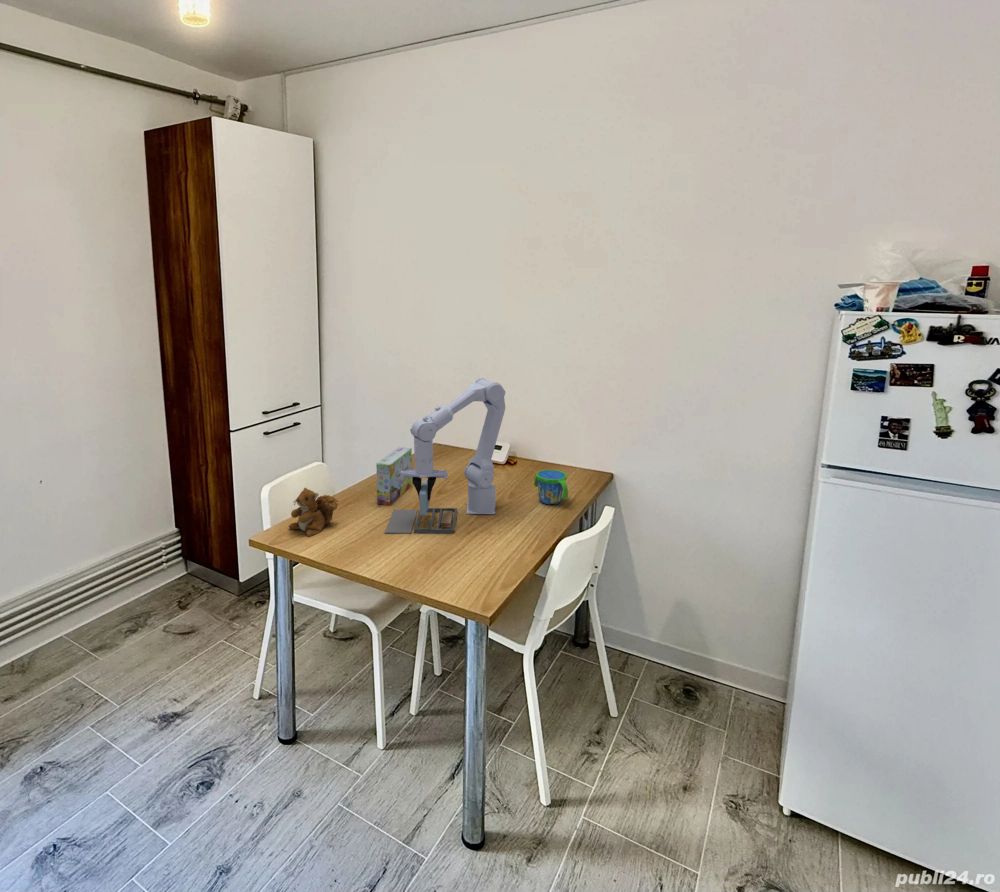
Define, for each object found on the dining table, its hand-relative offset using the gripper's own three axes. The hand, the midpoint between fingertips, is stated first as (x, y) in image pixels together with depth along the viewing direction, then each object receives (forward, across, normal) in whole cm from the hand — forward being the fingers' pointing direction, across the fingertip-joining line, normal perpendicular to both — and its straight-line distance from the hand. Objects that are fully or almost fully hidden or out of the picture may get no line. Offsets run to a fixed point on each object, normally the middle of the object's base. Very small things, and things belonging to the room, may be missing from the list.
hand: (424, 499), depth 188 cm
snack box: (+8, -13, +24) cm, 29 cm away
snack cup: (+8, +42, +18) cm, 46 cm away
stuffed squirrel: (+8, -34, -4) cm, 35 cm away
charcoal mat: (+8, -8, 0) cm, 11 cm away
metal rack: (+8, +4, 0) cm, 9 cm away
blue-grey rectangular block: (+3, 0, 0) cm, 3 cm away
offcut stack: (+8, +7, 0) cm, 10 cm away
